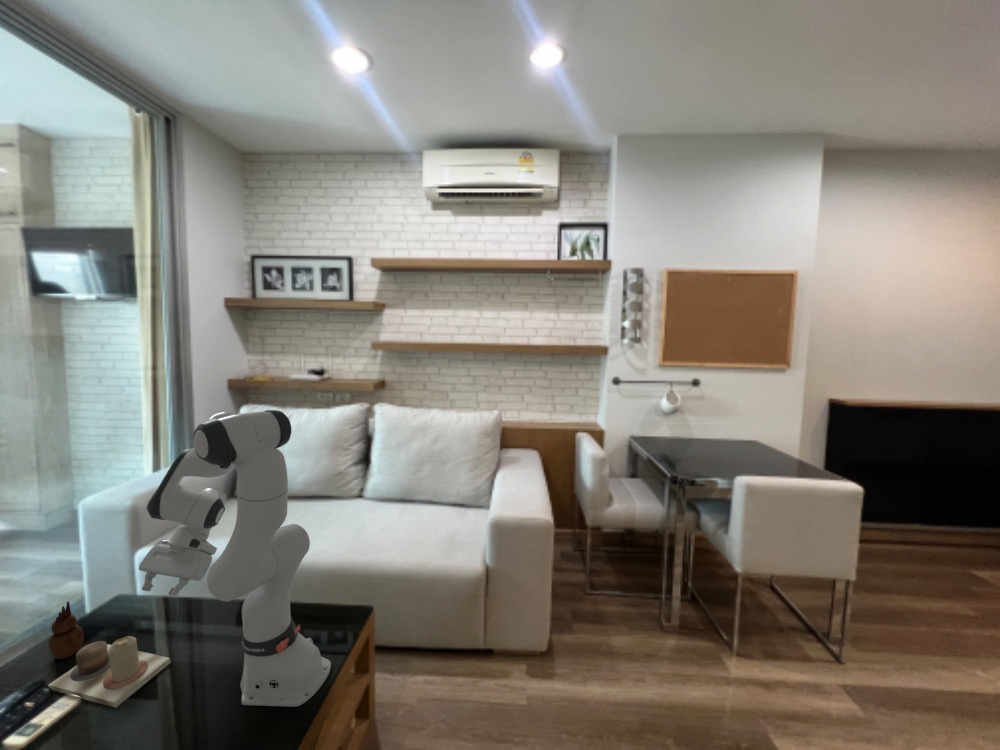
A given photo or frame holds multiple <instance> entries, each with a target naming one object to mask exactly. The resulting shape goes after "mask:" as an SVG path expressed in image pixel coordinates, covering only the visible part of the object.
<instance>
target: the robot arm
mask: <svg viewBox="0 0 1000 750" xmlns="http://www.w3.org/2000/svg"><path fill="white" fill-rule="evenodd" d="M291 435H292V424H291V421H290V419H289V417H288V416H287V415H286V414H285V413H284V412H283V411H281V410H276V409H275V410H274V409H268V410H267V409H266V410H264V411H255V412H254V411H253V412H252V411H251V412H245V413H244V412H242V413H234V412H231V411H222V412H217V413H215V414H213V415H210V417H209V418H208V419H207V420H206V421H204V422H202V423H200V424H198V425H197V427H196V428H195V430H194V433H193V437H192V439H193V447H192V448H186V449H185V448H184V450H183V451H182V452H180V453H179V454H178V456H177V457H176V458H175V459H174V461H173V462H172V464H171V465H170V467H169V468H168V470H167V471H166V473H165V475H164V476H163V479H162V480H161V482H160V484H159V486H158V487H157V489H156V490H155V491H154V492H153V493H152V494H151V496H150V497H149V499H148V501H147V505H146V511H147V512H148V514H149V516H150V518H151V519H156V520H162V521H167V522H172V523H175V524H179V525H178V526H177V528H176V529H175V531H174V533H173V534H172V536H171V537H170V540H167V539H161V540H160V541H158V542H156V543H155V544H154V546H152V548H150V550H149V551H147V553H146V555H145V556H144V557H143V559H142V560H141V562H140V563H139V564H138V571H141V572H145V573H146V574H145V575H144V583H143V585H142V586H141V591H145V592H151V590H152V589H153V586H154V584H152V583H153V579H155V578H156V577H157V575H161V576H167V577H173V578H179V579H178V583H177V584H176V585H175V586H174V587H171V588H170V589H169V591H168V596H173V597H178V595H179V593H180V591H181V590H182V589H183V588H184V587H185V586H187V585H188V584H189V582H190V581H195V582H196V581H197V582H199V581H201V580H202V579H203V578H205V576H206V573H207V577H206V585H207V589H208V591H209V593H210V594H211V595H212V596H213V597H214V598H216V600H219V601H222V602H230V601H233V600H236V599H238V598H240V597H243V596H245V595H247V596H246V598H245V599H244V600H243V603H242V607H241V620H242V621H241V622H242V633H241V645H242V646H241V647H242V651H243V653H244V657H243V658H244V659H243V668H242V669H243V671H242V676H241V680H240V682H239V683H240V686H239V687H240V691H241V694H242V695H241V702H240V703H241V705H243V706H259V707H260V706H264V707H265V706H266V707H299V706H302V705H303V704H305V703H306V702H307V701H309V700H310V699H311V698H312V697H313V696H314V695H315V694H316V693H317V691H319V690H320V688H321V687H322V686H323V684H324V683H325V681H326V680H327V678H328V676H329V675H330V672H331V669H332V663H331V660H329V659H328V658H325V657H323V656H321V655H322V654H321V652H320V649H319V648H318V646H316V645H315V644H314V641H313V639H312V638H311V637H307V638H306V637H305V636H303V634H301V633H300V632H299V631H300V629H301V627H300V626H301V624H298V625H296V623H295V622H294V619H293V618H292V616H291V592H292V587H293V584H294V580H295V577H296V574H297V572H298V569H299V567H300V565H301V562H302V561H303V560H304V558H305V556H306V555H307V554H308V552H309V550H310V545H311V543H310V542H311V541H310V536H309V533H308V532H307V531H306V529H305V528H304V527H303V526H301V525H299V524H296V523H292V524H287V525H283V524H284V522H285V521H286V518H287V515H288V497H289V496H288V491H289V485H288V484H289V482H288V481H289V480H288V479H289V477H288V469H287V464H286V459H285V456H284V453H283V452H282V451H281V450H280V449H279V448H281V447H283V446H284V445H286V444H287V443H289V441H290V438H291ZM234 468H235V469H236V470H237V471H236V472H237V492H236V494H237V498H236V499H237V502H236V503H237V505H236V519H235V520H236V521H235V525H234V528H233V531H232V534H231V536H230V538H229V541H228V542H227V544H226V546H225V548H224V550H223V551H222V553H221V554H220V555H219V557H218V558H217V560H215V562H214V563H213V564H211V563H212V560H213V555H215V554H216V553H217V550H218V548H217V547H216V546H214V545H213V544H211V543H210V542H209V541H207V540H208V538H209V536H210V533H211V530H212V528H214V527H216V526H218V524H219V522H220V520H221V518H222V517H223V515H224V513H225V511H226V506H225V505H226V504H225V503H226V502H227V494H225V493H224V491H222V490H220V489H217V488H213V487H206V488H204V489H202V490H201V491H198V490H195V489H191V488H187V487H185V486H183V485H181V482H182V481H183V479H184V478H186V477H198V478H206V479H207V478H216V477H222V476H223V475H226V474H227V473H230V472H231V471H232V470H234ZM282 525H283V526H282Z"/></svg>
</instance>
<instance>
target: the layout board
mask: <svg viewBox="0 0 1000 750" xmlns="http://www.w3.org/2000/svg"><path fill="white" fill-rule="evenodd" d="M111 645H112V644H109V643H108V644H107V642H106V641H105V640H98V641H94V642H91V643H89V644H86V645H85V646H83V647H81V648H80V650H79V651H77V652H76V653H75V657H76V658H75V660H76V665H75V666H73V667H72V668H71V669H70V670H68V671H67V672H65V673H63V674H62V675H61V676H59V677H57V678H56V679H54V680H53V681H52V682H50V683H49V684H47V688H48V687H49V688H51V689H53V690H55V691H58V692H61V693H60V694H62V693H65V694H64V695H66V694H75V695H78V696H80V697H82V698H83V699H82V700H86V701H89V702H93V703H96V704H100V705H105V706H108V707H112V708H118V706H120V705H121V704H122V703H123V702H125V701H126V700H128V698H130V697H131V696H132V695H133V694H135V693H136V692H137V691H138V690H139V689H141V688H142V687H143V686H144V685H145V684H147V683H148V682H149V681H150V680H152V679H153V678H154V677H155V676H157V675H158V674H159V673H160V672H161V671H162V670H163V669H165V668H166V667H167V666H168V665H170V664H171V658H170V657H167V656H162V655H157V654H154V653H149V652H144V651H140V650H138V657H139V666H140V668H139V671H138V672H137V673H136V674H135V675H134V676H133V677H131V678H129V679H127V680H125V681H122V682H114V681H113V679H112V673H111V666H110V658H109V648H110V646H111ZM49 688H48V689H49ZM55 691H54V692H55ZM58 692H57V693H58Z"/></svg>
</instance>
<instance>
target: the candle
mask: <svg viewBox="0 0 1000 750" xmlns="http://www.w3.org/2000/svg"><path fill="white" fill-rule="evenodd" d="M110 645H111V646H110V648H109V658H110V666H111V673H112V679H113V681H114V682H122V681H125V680H127V679H129V678H131V677H133V676H134V675H135V674H136V673H137V672H138V671H139V668H140V666H139V657H138V651H139V649H138V642H137V638H136V637H134V636H132V635H127V636H124V637H121V638H119V639H116V640H115V641H114V642H113V643H112V644H110Z"/></svg>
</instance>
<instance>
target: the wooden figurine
mask: <svg viewBox="0 0 1000 750" xmlns="http://www.w3.org/2000/svg"><path fill="white" fill-rule="evenodd" d="M51 633H52V635H51V636H50V638H49V639H48V647H49V651H50V653H51V655H52V656H53V658H55V659H57V660H64V659H68V658H70V657H72V656H73V655H76V654H77V652H78V651H79V650H80V649H82V645H83V643H84V639H85V637H84V636H85V634H84V630H83V628H82V627H81V626H80V625H79V624H77V617H76V616H75V615H74V614H72V610H71V606H70V601H67V602H66V607H65V606H61V611H60V612H59V611H58V616H56V617H55V620H54V621H53V622H52V624H51Z"/></svg>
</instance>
